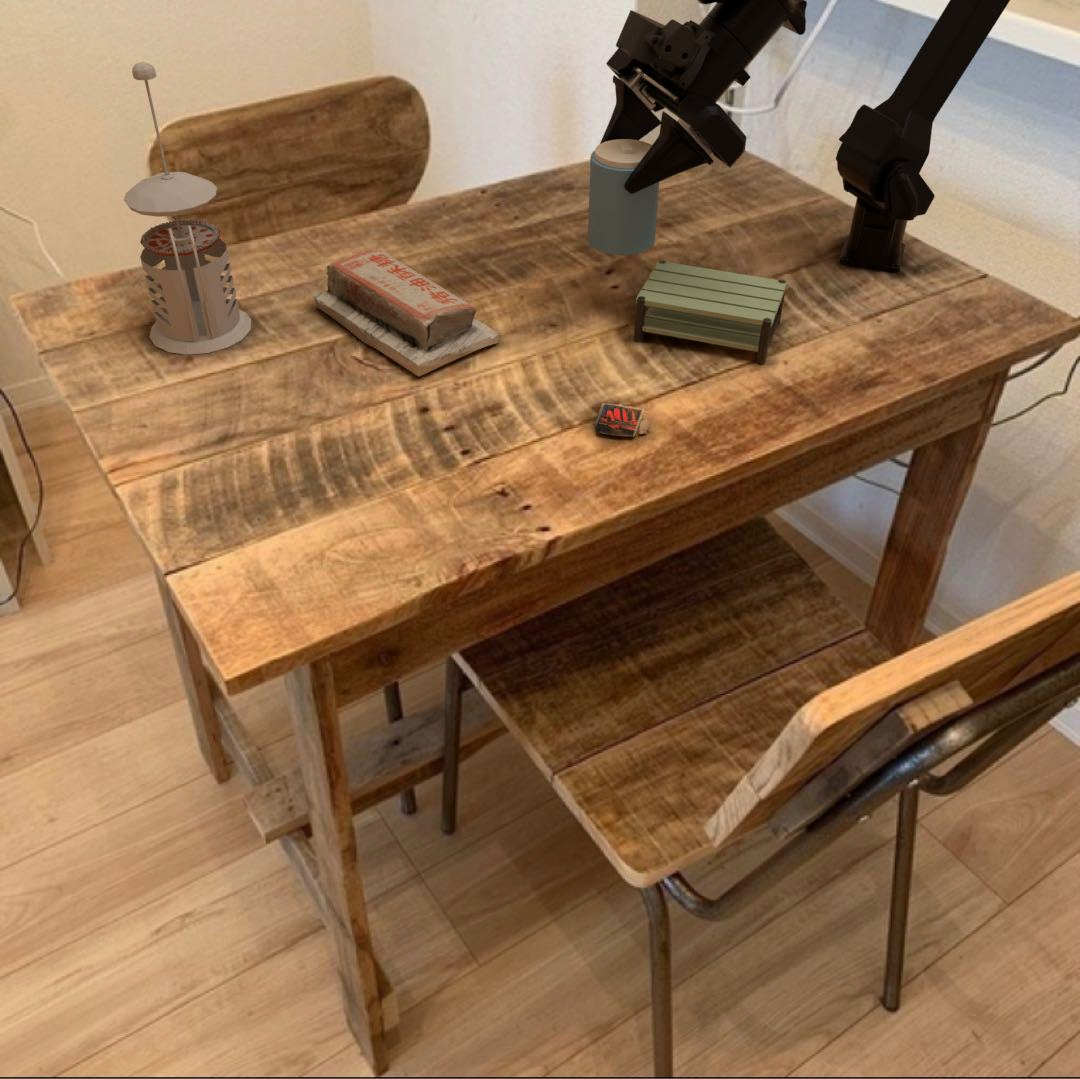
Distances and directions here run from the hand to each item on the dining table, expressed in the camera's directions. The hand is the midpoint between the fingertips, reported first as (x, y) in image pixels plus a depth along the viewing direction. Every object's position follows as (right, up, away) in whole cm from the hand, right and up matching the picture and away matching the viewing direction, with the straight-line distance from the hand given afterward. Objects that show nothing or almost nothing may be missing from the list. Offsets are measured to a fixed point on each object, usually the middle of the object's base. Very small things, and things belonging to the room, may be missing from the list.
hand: (611, 176), depth 101 cm
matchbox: (0, -24, -7) cm, 25 cm away
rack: (+10, -13, +5) cm, 18 cm away
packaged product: (-20, -13, +5) cm, 25 cm away
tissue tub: (+1, -5, +5) cm, 7 cm away
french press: (-40, -14, +4) cm, 43 cm away
